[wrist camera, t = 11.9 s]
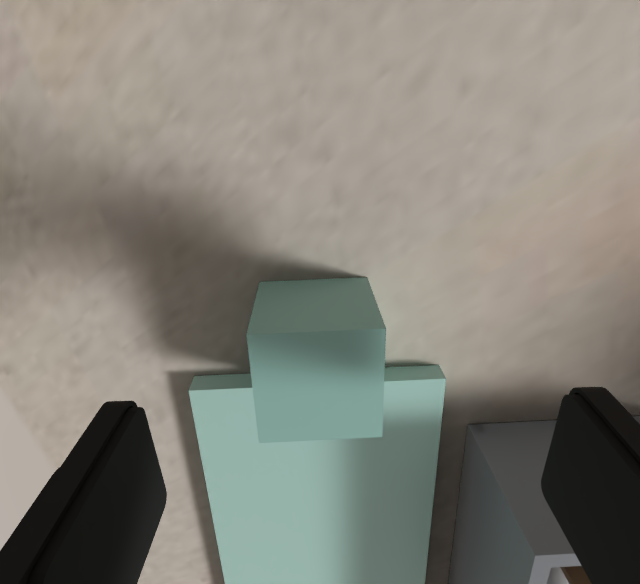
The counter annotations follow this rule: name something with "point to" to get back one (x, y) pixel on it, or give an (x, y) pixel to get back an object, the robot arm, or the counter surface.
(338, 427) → the mint slab with cube
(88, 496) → the robot arm
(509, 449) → the tub
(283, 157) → the counter surface
